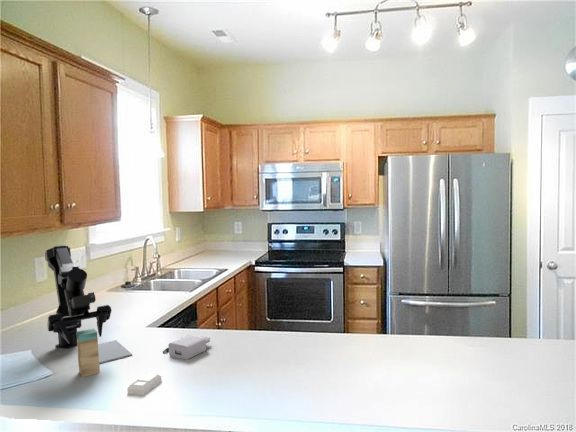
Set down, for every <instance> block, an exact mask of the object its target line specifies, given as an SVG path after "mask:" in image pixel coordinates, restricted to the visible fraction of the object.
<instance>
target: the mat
mask: <svg viewBox="0 0 576 432" xmlns="http://www.w3.org/2000/svg"><path fill="white" fill-rule="evenodd" d="M98 353H99V365H101V364H104V363H108V362H113V361H116V360H120V359H123V358H127V357H132V356H133V353H132V352H130V351H129V350H128V349H127V348H126V347H125V346H123V345H122V344H121V343H120V342H119V341H118V340H111V341H105V342H102V343H98Z"/></svg>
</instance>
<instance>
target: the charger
mask: <svg viewBox="0 0 576 432" xmlns="http://www.w3.org/2000/svg"><path fill="white" fill-rule="evenodd" d="M180 338H181V339H180ZM180 338H179V340H178V339H177V340H174V341H172V342H169V343H168V347H169V352H168V355H169V356H170V355H171V356H170V357H174V356H176V357H175V358H178V357H180V358H179V359H183V358H184V360H189V359H191V358H194V357H196V356H197V355H199V354H201V353H204V352H205V351H207V344H208V343H210V342H211V337H207V336H194V335H186V336H184V338H182V337H180Z"/></svg>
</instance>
